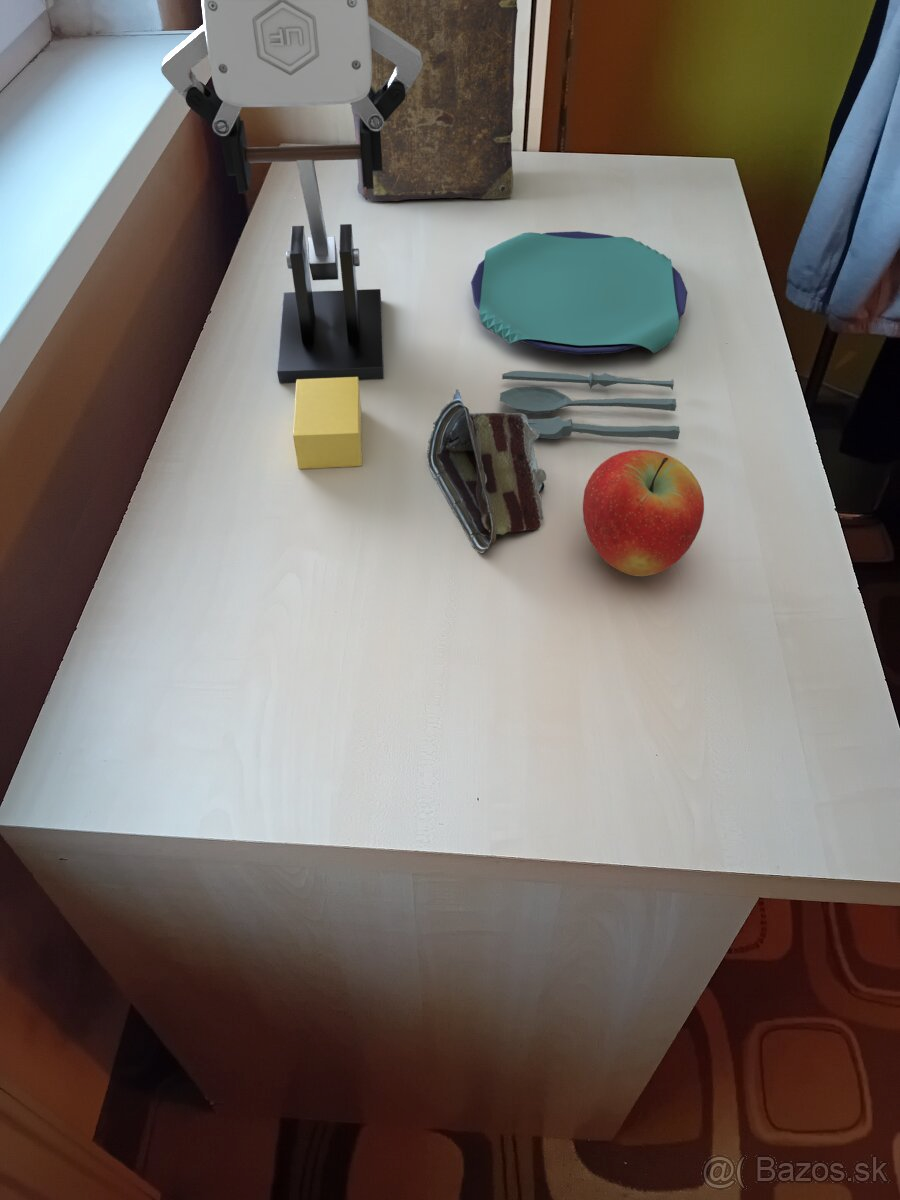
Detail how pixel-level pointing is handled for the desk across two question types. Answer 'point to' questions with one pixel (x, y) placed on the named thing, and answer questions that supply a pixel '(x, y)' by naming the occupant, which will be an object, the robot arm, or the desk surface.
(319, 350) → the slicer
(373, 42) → the robot arm
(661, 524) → the apple
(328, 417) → the butter
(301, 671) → the desk surface
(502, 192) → the book
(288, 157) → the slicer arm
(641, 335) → the cutlery set
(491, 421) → the chocolate cake
